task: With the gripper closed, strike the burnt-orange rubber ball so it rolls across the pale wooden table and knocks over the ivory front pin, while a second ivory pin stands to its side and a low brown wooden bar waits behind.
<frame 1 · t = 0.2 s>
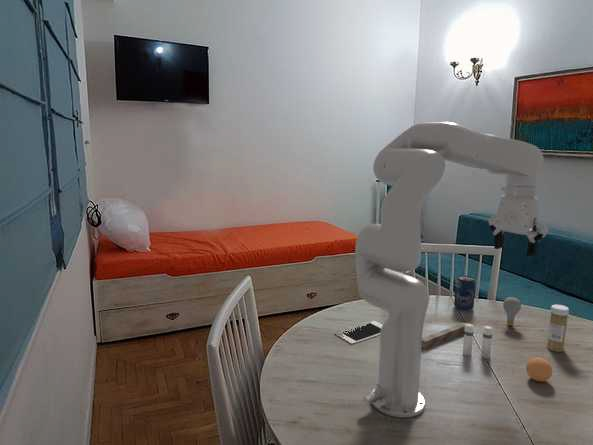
hand: (514, 251, 123), 31 cm above the table, tool pointing down, fingers open, 9 cm apart
soda can: (463, 309, 163), on the table
cell phone: (363, 334, 142), on the table
front pin: (485, 356, 126), on the table
sprinkles bottle: (555, 349, 131), on the table
side pin: (467, 354, 128), on the table
brown wooden bar: (444, 338, 138), on the table
light bulb: (509, 325, 148), on the table
ball: (539, 369, 114), on the table
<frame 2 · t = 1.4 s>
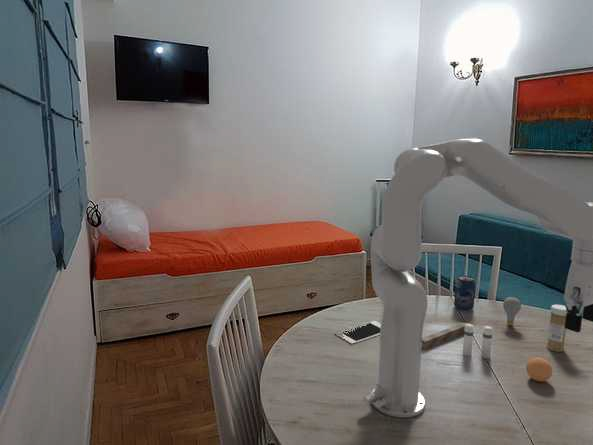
hand: (581, 325, 104), 18 cm above the table, tool pointing down, fingers open, 9 cm apart
nothing on the table moved.
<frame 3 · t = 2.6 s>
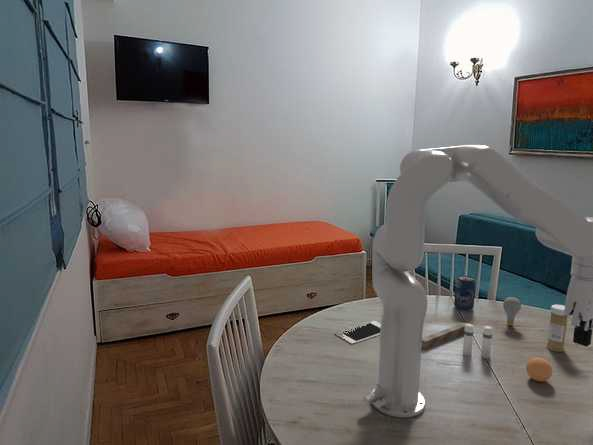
hand: (581, 343, 105), 14 cm above the table, tool pointing down, fingers closed
nothing on the table moved.
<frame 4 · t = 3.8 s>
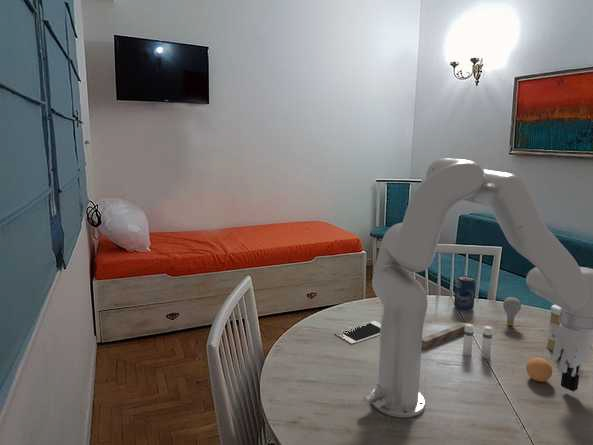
hand: (568, 387, 108), 1 cm above the table, tool pointing down, fingers closed
nothing on the table moved.
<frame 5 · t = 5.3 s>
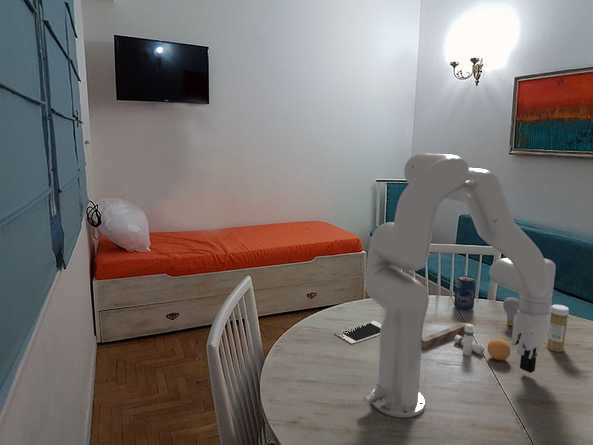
hand: (527, 369, 116), 2 cm above the table, tool pointing down, fingers closed
front pin: (481, 350, 128), point 1 cm above the table, tilted 90°
ball: (498, 349, 125), on the table
everything else where it was.
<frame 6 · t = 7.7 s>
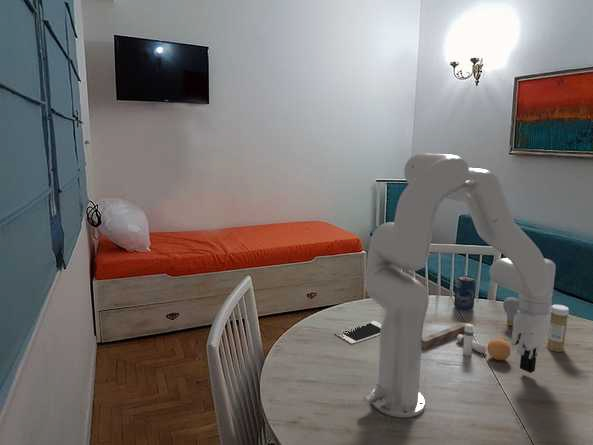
hand: (527, 369, 116), 2 cm above the table, tool pointing down, fingers closed
front pin: (483, 349, 128), point 1 cm above the table, tilted 90°
everything else where it was.
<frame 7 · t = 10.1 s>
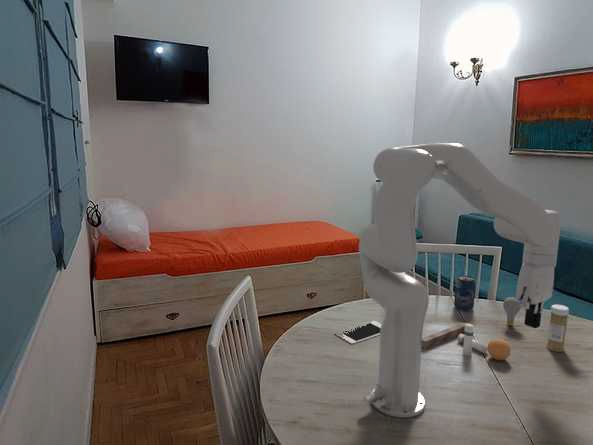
hand: (532, 325, 114), 14 cm above the table, tool pointing down, fingers closed
at the end: front pin tilted 90°; front pin never touched the robot; ball moved 12.4 cm from its start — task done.
